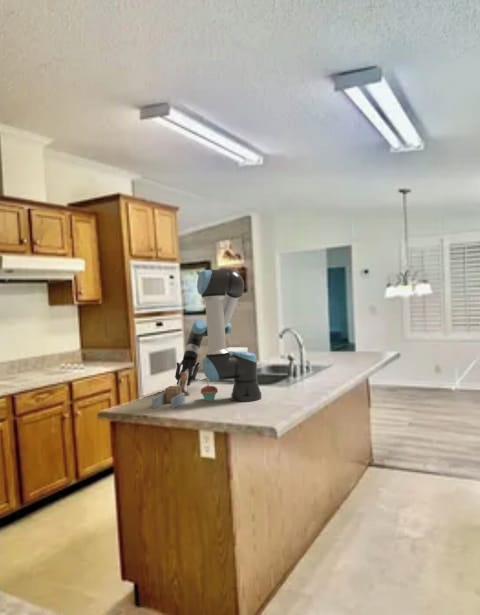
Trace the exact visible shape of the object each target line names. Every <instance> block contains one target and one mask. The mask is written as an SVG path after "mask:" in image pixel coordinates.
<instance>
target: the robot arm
mask: <svg viewBox="0 0 480 615" xmlns="http://www.w3.org/2000/svg"><path fill="white" fill-rule="evenodd" d="M196 290H197V293H198V295H201V299H202V300H203V301H204V305H205V317H206V321H205V320H203V319H196V320H194V322H193V324H192V326H191V330H190V332H189V334H188V339H187V343H186V345H185V346H186V347H185V350H184V353H183V354H184V355H183V357H182V360H181V362H176V370H175V376H174V378H175V379H176V380H177V381H176V386H181V373H183V372H186V371H187V370H188V373H187V379H186V382H185V386H184V390H185V392H187V390H188V388H189V386H191V383H192V381H195V380H196V377H197V374H198V371H199V369H200V367H201V364H200V362H198V356H199V352H200V348H201V344H202V341H203V338H205V337H207V344H208V350H207V352H206V353H205V357H204V358H203V359H202V368H203V373H204V376H205V378H206V380H207V379H208V381H209V382H219V381H222V380H227V379H234V381H233V386H232V392H231V393H230V394H231V395H230V397H231V400H232V401H236V402H253V401H254V402H255V401H257V400H260V399H262V397H263V396H262V392H261V390H260V386H259V383H258V365H257V364H258V361H257V356H256V354H255V353H253V352H249V351H248V352H233V355H230V352H229V351H228V350H227V349H226V348H227V342H226V341H227V340H226V335H227V336H228V335H230V334H231V333H232V324H231V323H230V322H231V320H232V317H233V315H234V312H235V309H236V306H237V305H238V301H239V299H240V298H241V297H242V296H243V294H244V293H245V292H244V291H245V282H244V279H243V277H242V276H241V274H240V273H239V272H238V271H235V270H233V269H229V268H228V269H205V270H201V272H200V273H199V274H198V276H197V283H196Z"/></svg>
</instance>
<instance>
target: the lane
mask: <svg viewBox="0 0 480 615" xmlns="http://www.w3.org/2000/svg"><path fill="white" fill-rule="evenodd" d="M185 401H186V396H185V394H184V393H182V392H181V394H179V395H177V396H176V397H174V398H172V399H171V403H170V404H171V410H174V409H176V408H177V407H179V406H181V405H183V402H184V403H185ZM151 403H152V405H151V406H152V409H156V408H158V407H160V406H161V405H163V404H165V403H166V392H162V393H161V394H159V395H156V396H155V397H153V398H152V399H151ZM180 404H181V405H180ZM178 405H179V406H178ZM175 407H176V408H175Z"/></svg>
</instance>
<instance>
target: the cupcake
mask: <svg viewBox="0 0 480 615" xmlns="http://www.w3.org/2000/svg"><path fill="white" fill-rule="evenodd" d="M206 382H207V385H206V386H204V387H202V388H201V389H200V394H201V395H202V397H203V399H204V401H205V402H212V401H215V398H216V395H217V393H218V392H219V391H218V388H217V387H216V386H215V385H210V383H209V382H210V380H208V379H207V378H206Z"/></svg>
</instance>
